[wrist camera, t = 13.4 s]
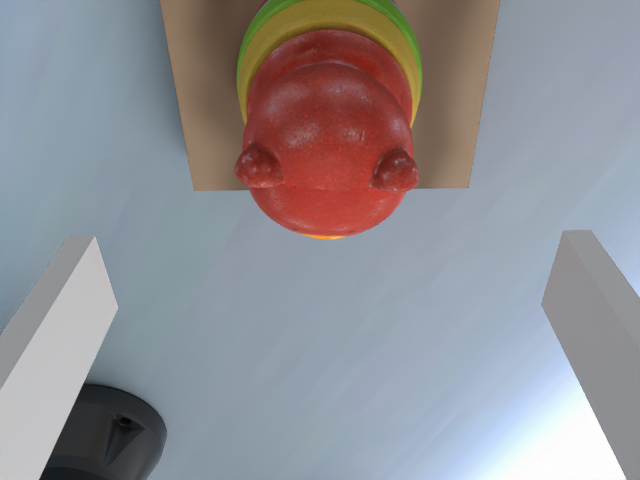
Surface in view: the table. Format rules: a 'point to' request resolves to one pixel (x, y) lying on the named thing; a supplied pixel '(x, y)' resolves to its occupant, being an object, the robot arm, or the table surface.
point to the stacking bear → (328, 113)
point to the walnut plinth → (432, 113)
